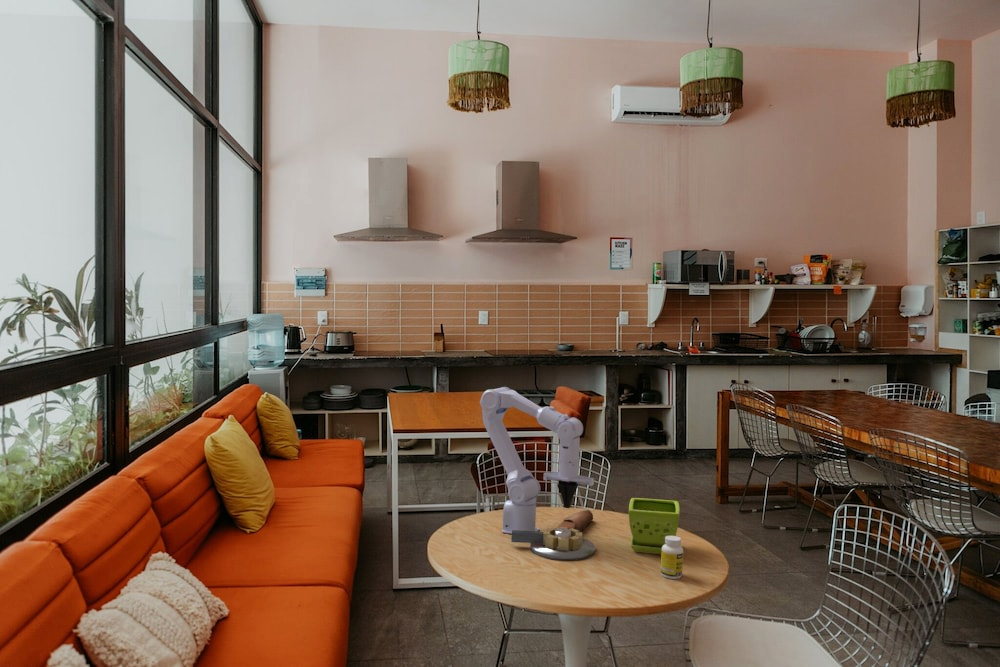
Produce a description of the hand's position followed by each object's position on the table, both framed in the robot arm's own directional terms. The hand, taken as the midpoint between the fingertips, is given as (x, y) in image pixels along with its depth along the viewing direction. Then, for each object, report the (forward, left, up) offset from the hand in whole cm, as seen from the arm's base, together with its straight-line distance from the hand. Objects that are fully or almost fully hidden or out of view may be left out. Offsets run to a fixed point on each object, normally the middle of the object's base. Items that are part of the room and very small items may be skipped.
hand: (567, 507), depth 209 cm
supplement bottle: (+32, -13, -10) cm, 36 cm away
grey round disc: (+1, -7, -10) cm, 12 cm away
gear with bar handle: (-3, -8, -8) cm, 12 cm away
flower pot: (+24, +5, -10) cm, 27 cm away
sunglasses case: (-2, +13, -11) cm, 17 cm away
